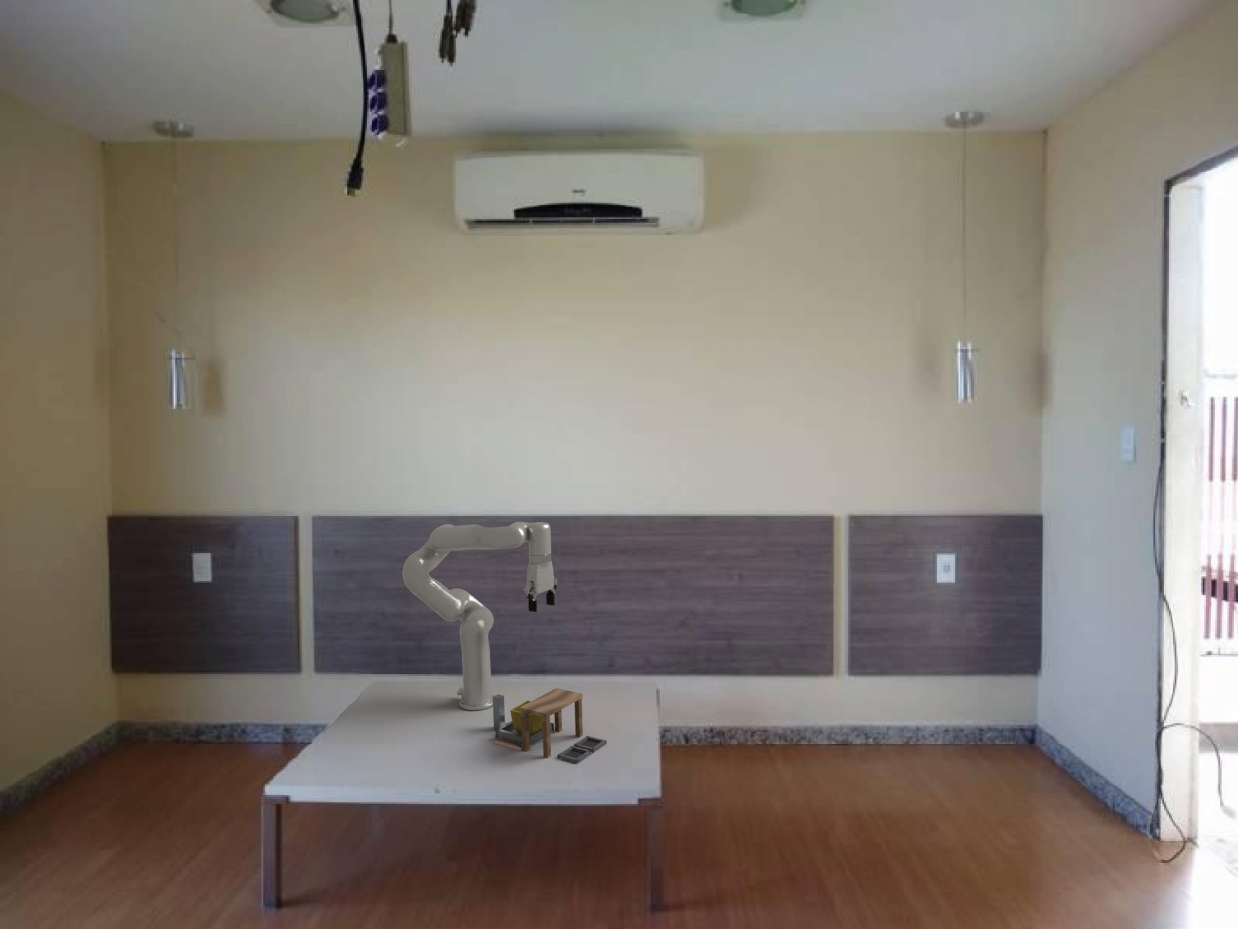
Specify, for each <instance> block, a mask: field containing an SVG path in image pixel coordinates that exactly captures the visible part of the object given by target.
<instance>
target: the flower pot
mask: <svg viewBox="0 0 1238 929" xmlns="http://www.w3.org/2000/svg"><path fill="white" fill-rule="evenodd" d="M531 701H532V700H525V701H523V702H521V703H519V705H516V706H515V707H513V708H511V709H510V717H511V721H512V722H513V726H514V729H515V732H516V734H520V735H522V732H521V711H520V707H521V706H523V705H525V704H527V703H529V702H531ZM541 728H542V717H541V716H537V715H533V714H529V735H530V734H532V733H534V732H535V731H537V730H539V729H541Z"/></svg>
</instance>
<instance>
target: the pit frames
mask: <svg viewBox="0 0 1238 929" xmlns="http://www.w3.org/2000/svg"><path fill="white" fill-rule="evenodd" d="M605 745H607V740H606V739H602V738H599V737H594V736H590V735H586V736H585V737H583V738H581V739H580V740H578V741H577V742H576V743H574V744H573V745H571V746H569V747H567V748H566V749H565V750H563V751H562V752H560V753H559V754H557V759H560V760H563V761H567V762H570V763H573V764H577V765H578V764H579V763H581V762H582V761H583V760H586V758H588V757H590V756H591V755H592V753H595V752H597V751H598V750H600V749H601V748H603V747H604V746H605Z"/></svg>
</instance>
